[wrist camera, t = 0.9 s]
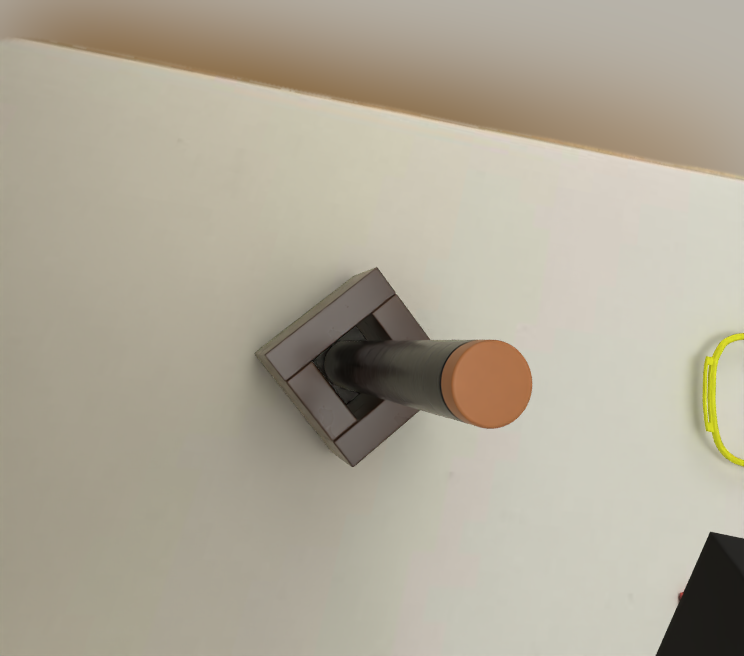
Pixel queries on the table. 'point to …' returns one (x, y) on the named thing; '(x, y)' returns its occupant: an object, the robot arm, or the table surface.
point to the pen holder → (318, 332)
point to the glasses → (712, 423)
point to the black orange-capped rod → (437, 376)
